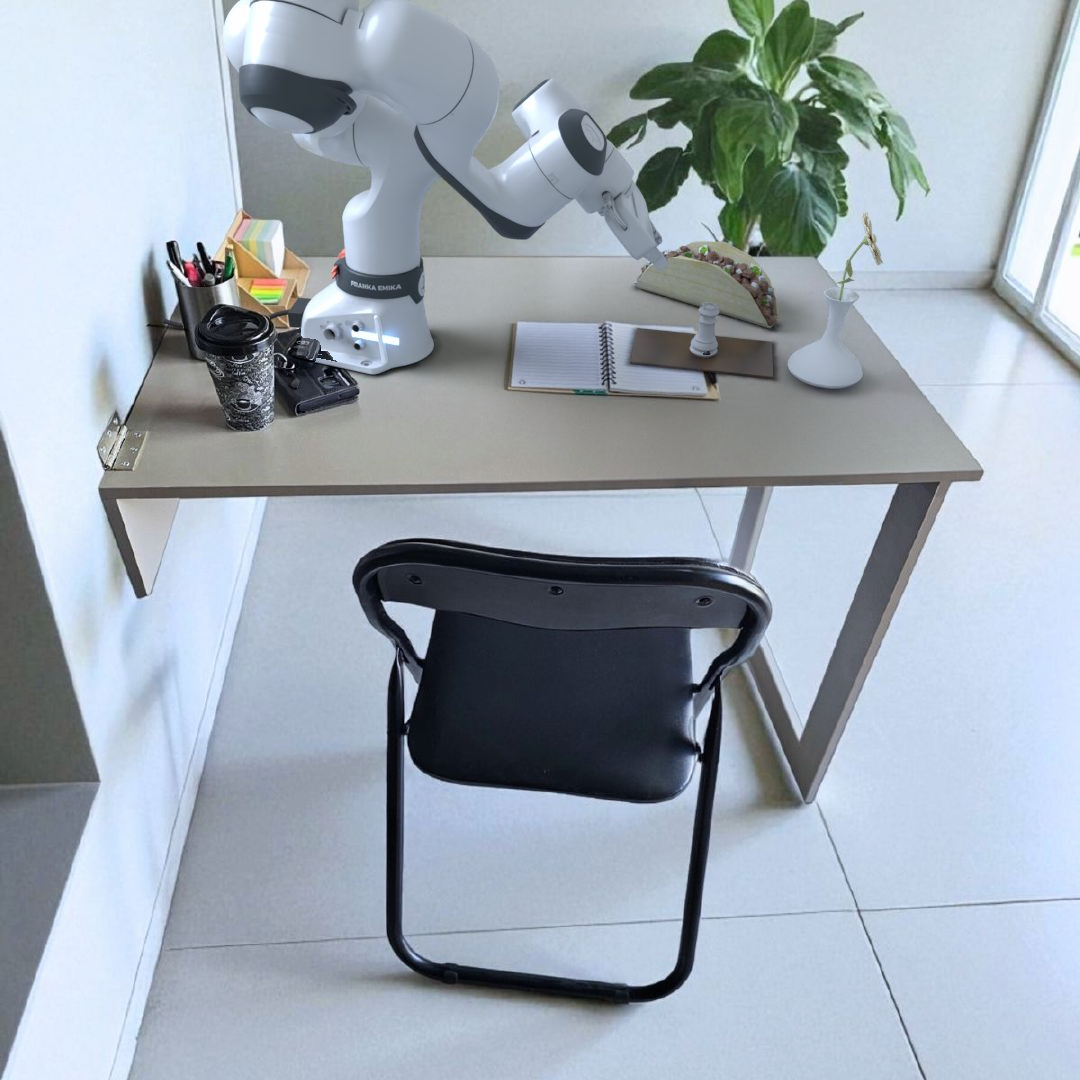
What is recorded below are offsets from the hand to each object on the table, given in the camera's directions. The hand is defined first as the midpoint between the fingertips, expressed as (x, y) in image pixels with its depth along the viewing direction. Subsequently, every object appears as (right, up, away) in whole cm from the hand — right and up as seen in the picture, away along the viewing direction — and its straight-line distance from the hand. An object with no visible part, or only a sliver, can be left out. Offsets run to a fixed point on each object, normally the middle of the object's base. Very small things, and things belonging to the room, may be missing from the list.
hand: (661, 254), depth 154 cm
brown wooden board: (+8, -13, +12) cm, 19 cm away
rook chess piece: (+8, -13, +11) cm, 19 cm away
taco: (+10, -2, +26) cm, 28 cm away
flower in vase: (+26, -17, +7) cm, 32 cm away
